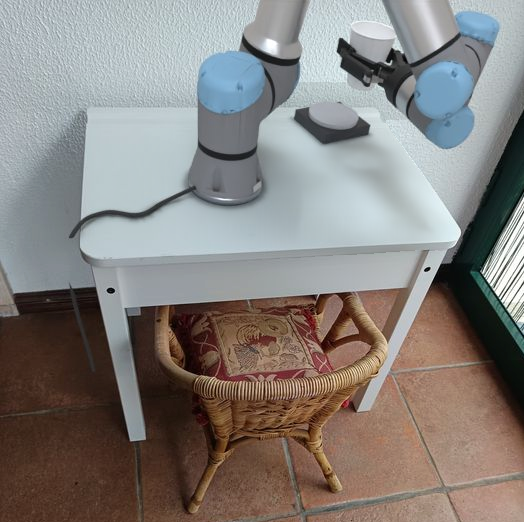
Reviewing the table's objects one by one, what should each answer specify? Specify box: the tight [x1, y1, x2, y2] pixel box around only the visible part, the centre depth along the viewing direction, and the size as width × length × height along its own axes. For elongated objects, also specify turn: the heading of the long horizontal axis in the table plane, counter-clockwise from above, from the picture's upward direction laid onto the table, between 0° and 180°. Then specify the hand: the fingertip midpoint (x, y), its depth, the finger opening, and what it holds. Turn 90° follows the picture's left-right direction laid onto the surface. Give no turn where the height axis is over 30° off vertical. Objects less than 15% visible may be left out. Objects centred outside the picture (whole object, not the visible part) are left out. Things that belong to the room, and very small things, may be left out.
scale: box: [293, 100, 371, 145], centre depth 122 cm, size 14×13×3 cm
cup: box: [346, 19, 398, 92], centre depth 104 cm, size 10×10×11 cm
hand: (358, 44), depth 106 cm, fingers closed on cup, 8 cm apart
